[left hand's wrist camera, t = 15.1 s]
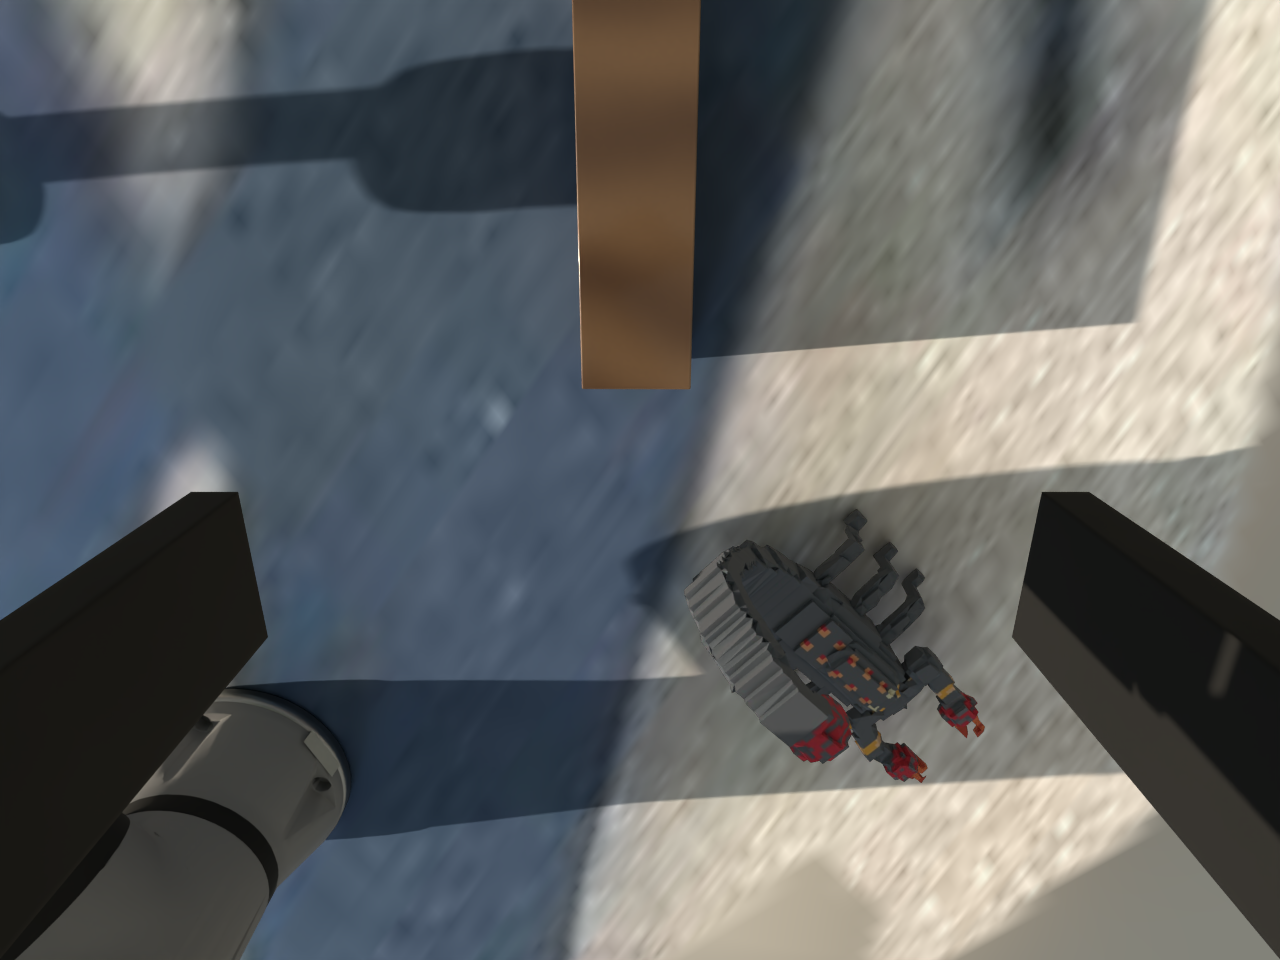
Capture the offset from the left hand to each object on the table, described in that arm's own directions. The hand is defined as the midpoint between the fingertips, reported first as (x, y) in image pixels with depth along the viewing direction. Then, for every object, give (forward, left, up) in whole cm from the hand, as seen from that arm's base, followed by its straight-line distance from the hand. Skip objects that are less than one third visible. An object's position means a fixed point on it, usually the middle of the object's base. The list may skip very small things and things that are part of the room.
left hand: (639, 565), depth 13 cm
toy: (-11, -24, -35) cm, 44 cm away
